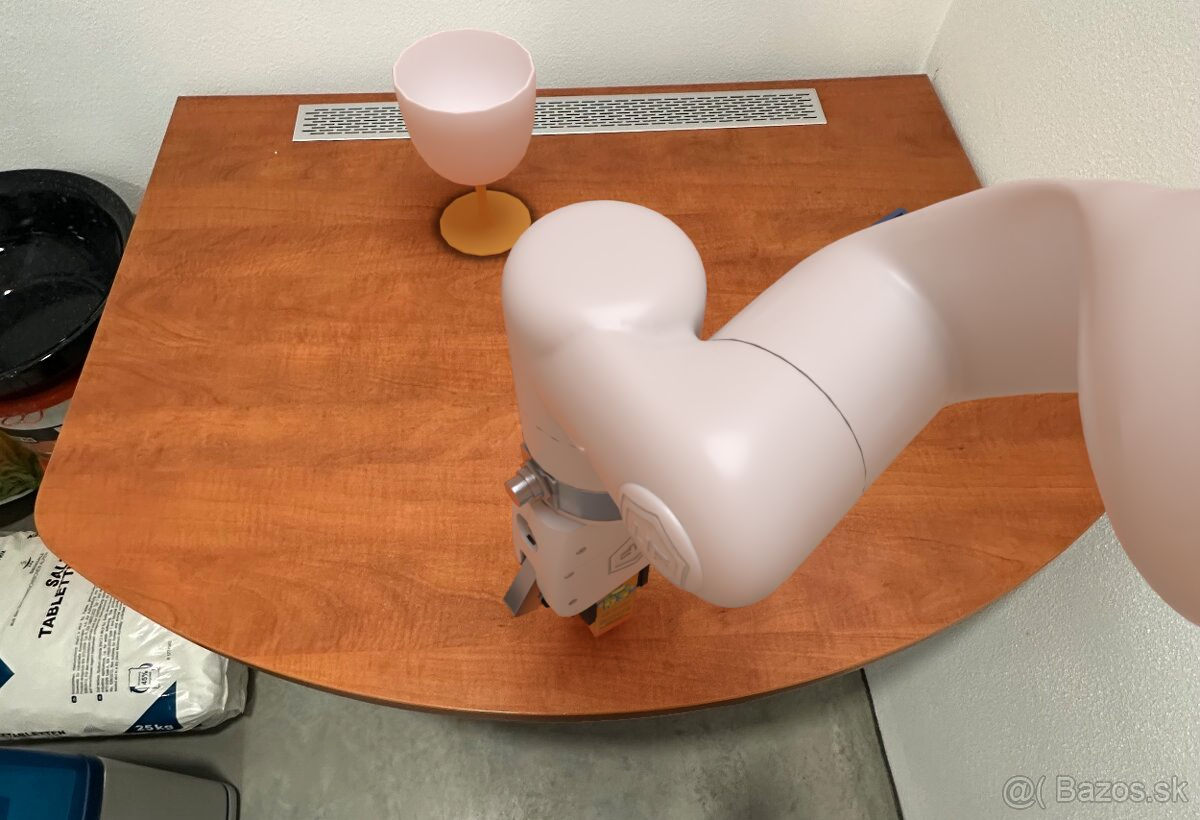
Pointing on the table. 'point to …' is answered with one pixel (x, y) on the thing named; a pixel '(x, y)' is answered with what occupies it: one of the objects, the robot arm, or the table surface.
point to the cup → (471, 127)
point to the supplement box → (615, 607)
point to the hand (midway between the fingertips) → (604, 586)
